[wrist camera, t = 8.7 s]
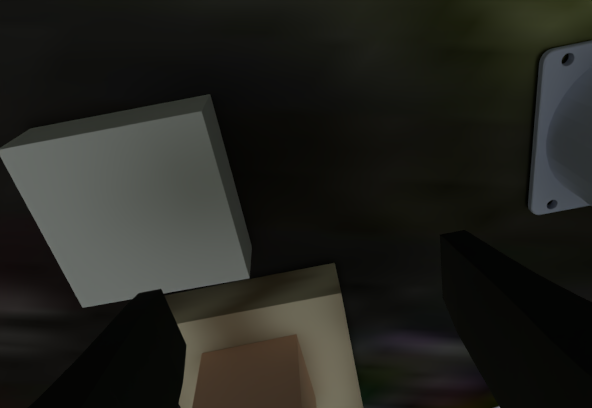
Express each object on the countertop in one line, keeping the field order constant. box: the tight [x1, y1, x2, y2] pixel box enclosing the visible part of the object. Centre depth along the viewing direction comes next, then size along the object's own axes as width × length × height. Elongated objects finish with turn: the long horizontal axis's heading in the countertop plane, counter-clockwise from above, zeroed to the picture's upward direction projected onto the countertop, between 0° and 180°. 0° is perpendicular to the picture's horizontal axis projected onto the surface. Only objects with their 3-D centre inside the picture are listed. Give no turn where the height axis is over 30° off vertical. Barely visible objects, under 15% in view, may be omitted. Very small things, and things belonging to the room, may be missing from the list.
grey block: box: [0, 94, 252, 308], centre depth 19 cm, size 8×8×3 cm
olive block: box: [165, 263, 363, 408], centre depth 25 cm, size 10×10×3 cm
